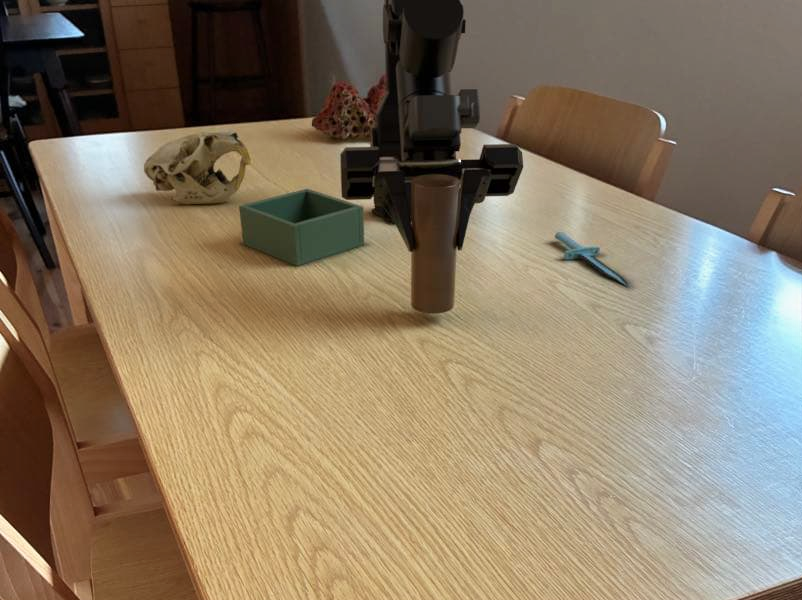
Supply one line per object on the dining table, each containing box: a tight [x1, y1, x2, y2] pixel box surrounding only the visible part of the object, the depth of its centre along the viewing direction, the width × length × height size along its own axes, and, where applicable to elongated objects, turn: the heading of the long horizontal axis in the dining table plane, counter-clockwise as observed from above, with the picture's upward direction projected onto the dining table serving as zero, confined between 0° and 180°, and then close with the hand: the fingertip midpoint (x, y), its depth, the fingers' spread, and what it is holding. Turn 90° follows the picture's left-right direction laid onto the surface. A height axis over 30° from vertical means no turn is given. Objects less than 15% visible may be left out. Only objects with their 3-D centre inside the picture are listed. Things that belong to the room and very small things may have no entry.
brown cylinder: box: [410, 174, 460, 315], centre depth 85 cm, size 5×5×13 cm
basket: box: [238, 188, 365, 267], centre depth 107 cm, size 12×12×5 cm
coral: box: [311, 73, 386, 141], centre depth 155 cm, size 18×13×15 cm
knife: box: [554, 231, 629, 288], centre depth 103 cm, size 17×1×5 cm
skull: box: [143, 129, 251, 205], centre depth 121 cm, size 10×16×10 cm, turn 78°
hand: (435, 249), depth 84 cm, fingers closed on brown cylinder, 5 cm apart
